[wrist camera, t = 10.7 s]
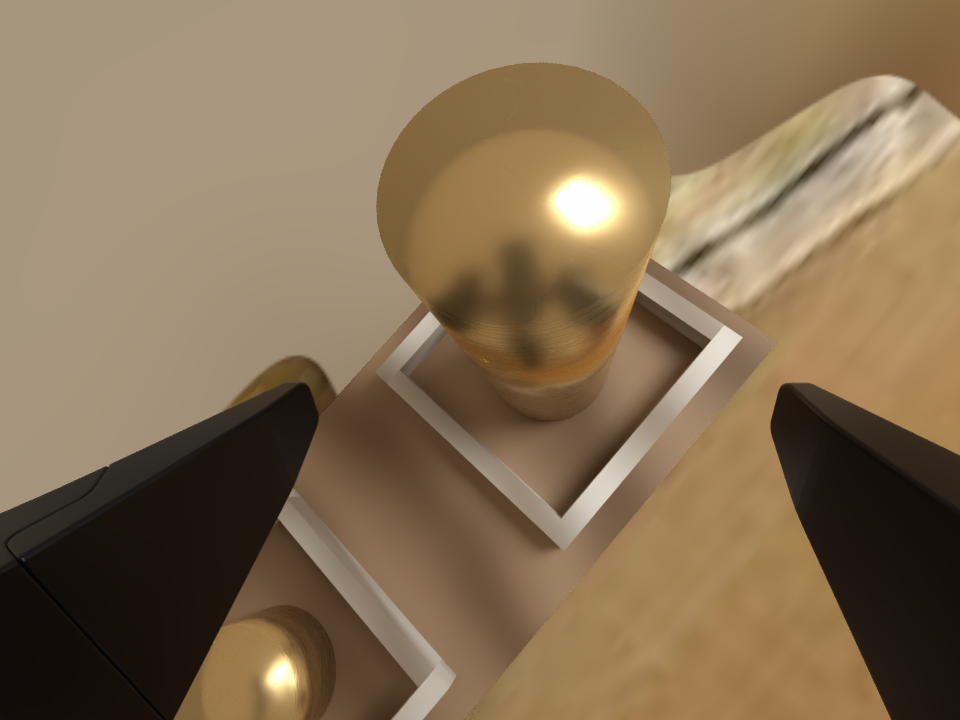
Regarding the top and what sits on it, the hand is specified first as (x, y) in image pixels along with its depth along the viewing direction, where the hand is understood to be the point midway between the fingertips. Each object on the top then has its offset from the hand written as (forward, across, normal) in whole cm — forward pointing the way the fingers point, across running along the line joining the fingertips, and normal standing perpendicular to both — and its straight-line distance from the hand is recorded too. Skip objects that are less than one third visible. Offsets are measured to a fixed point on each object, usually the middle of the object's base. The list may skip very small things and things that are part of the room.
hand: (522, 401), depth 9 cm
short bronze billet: (+1, +11, +14) cm, 18 cm away
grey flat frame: (+7, +6, +11) cm, 14 cm away
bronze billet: (+10, 0, +5) cm, 11 cm away
